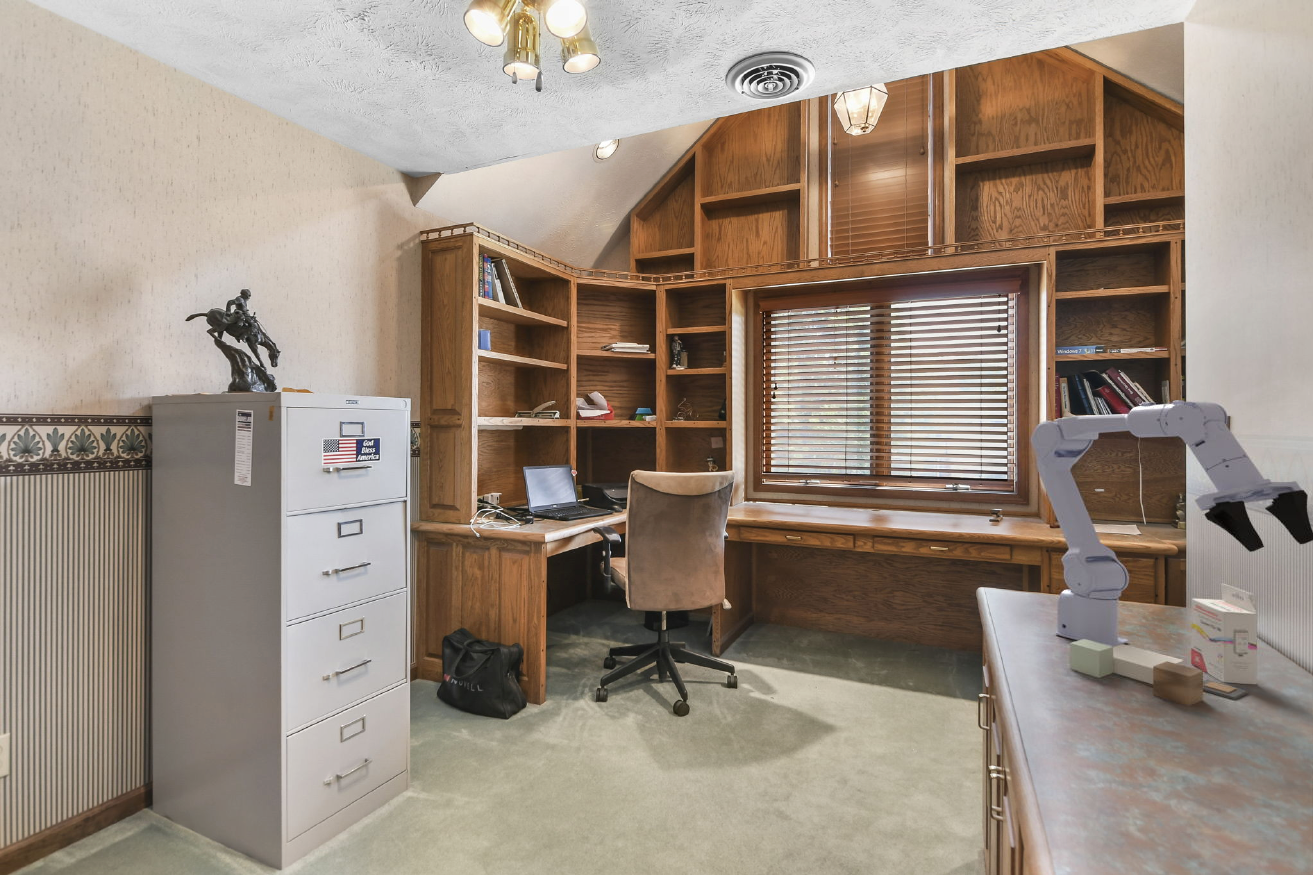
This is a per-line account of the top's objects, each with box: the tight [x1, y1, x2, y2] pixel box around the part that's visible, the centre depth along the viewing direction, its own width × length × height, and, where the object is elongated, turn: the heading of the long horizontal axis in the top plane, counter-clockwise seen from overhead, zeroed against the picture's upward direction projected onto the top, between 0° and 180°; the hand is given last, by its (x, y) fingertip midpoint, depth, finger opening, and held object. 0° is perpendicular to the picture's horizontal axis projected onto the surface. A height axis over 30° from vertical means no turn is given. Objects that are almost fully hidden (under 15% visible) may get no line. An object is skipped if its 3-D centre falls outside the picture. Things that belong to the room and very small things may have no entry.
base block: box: [1113, 643, 1185, 685], centre depth 104 cm, size 9×9×3 cm
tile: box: [1203, 679, 1249, 701], centre depth 96 cm, size 5×5×1 cm
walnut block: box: [1152, 661, 1204, 707], centre depth 94 cm, size 4×4×4 cm
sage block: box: [1069, 639, 1114, 679], centre depth 104 cm, size 4×4×4 cm
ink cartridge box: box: [1190, 582, 1258, 685], centre depth 103 cm, size 9×5×15 cm, turn 168°
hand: (1282, 545), depth 91 cm, fingers open, 7 cm apart
